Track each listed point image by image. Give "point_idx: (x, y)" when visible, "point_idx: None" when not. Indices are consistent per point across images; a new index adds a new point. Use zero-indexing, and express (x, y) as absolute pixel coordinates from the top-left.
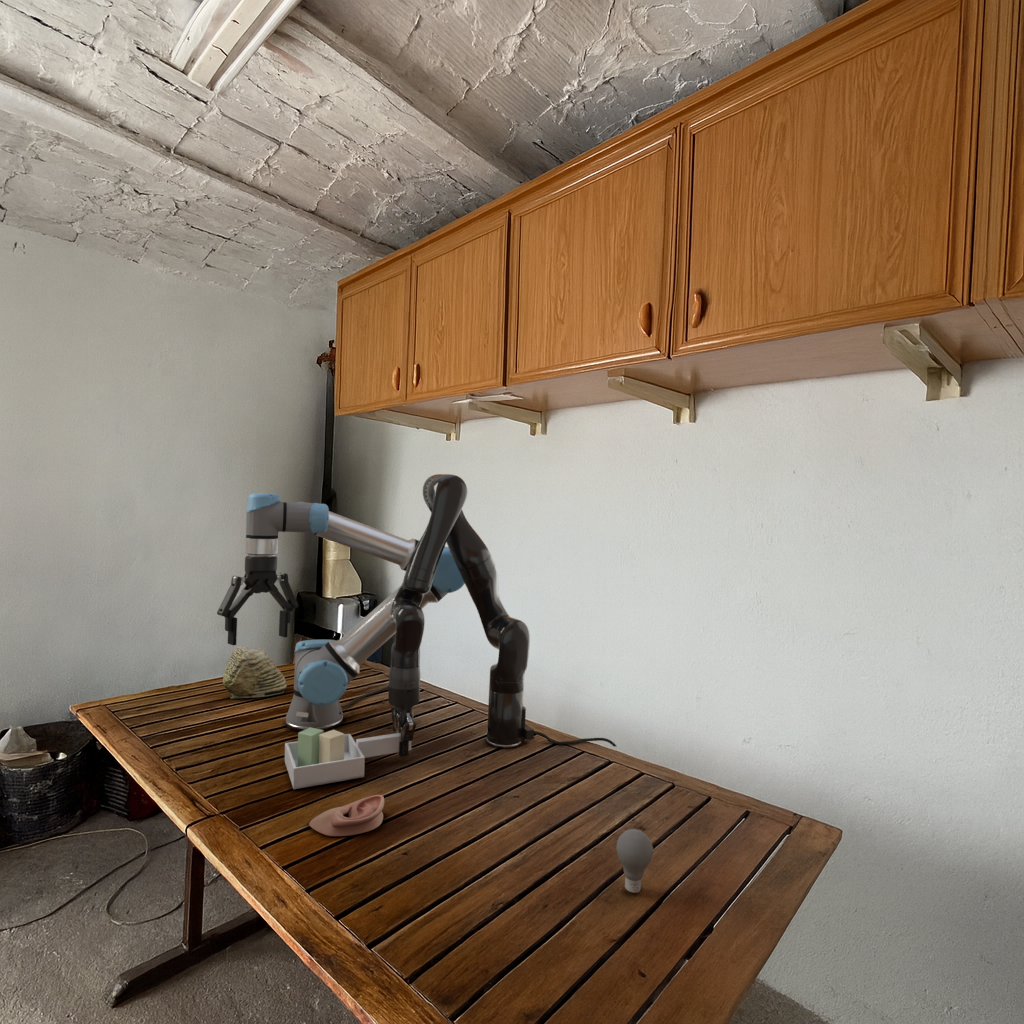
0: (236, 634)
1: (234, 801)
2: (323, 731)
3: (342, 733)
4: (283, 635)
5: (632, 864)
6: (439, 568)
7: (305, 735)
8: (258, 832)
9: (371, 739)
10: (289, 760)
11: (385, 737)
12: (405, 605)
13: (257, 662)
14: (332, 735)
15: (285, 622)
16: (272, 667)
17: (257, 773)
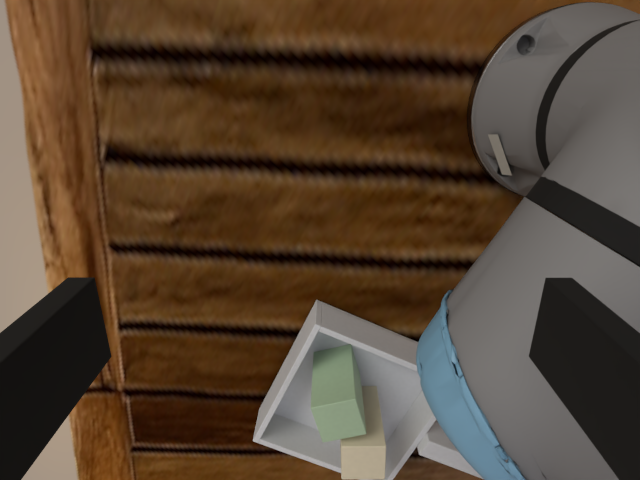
0: (65, 417)
1: (158, 372)
2: (365, 431)
3: (382, 476)
4: (538, 349)
5: None
6: None
7: (317, 425)
8: (151, 470)
9: (449, 463)
10: (280, 384)
11: (478, 474)
12: None
13: None
14: (358, 470)
15: (610, 460)
16: None
17: (246, 300)
